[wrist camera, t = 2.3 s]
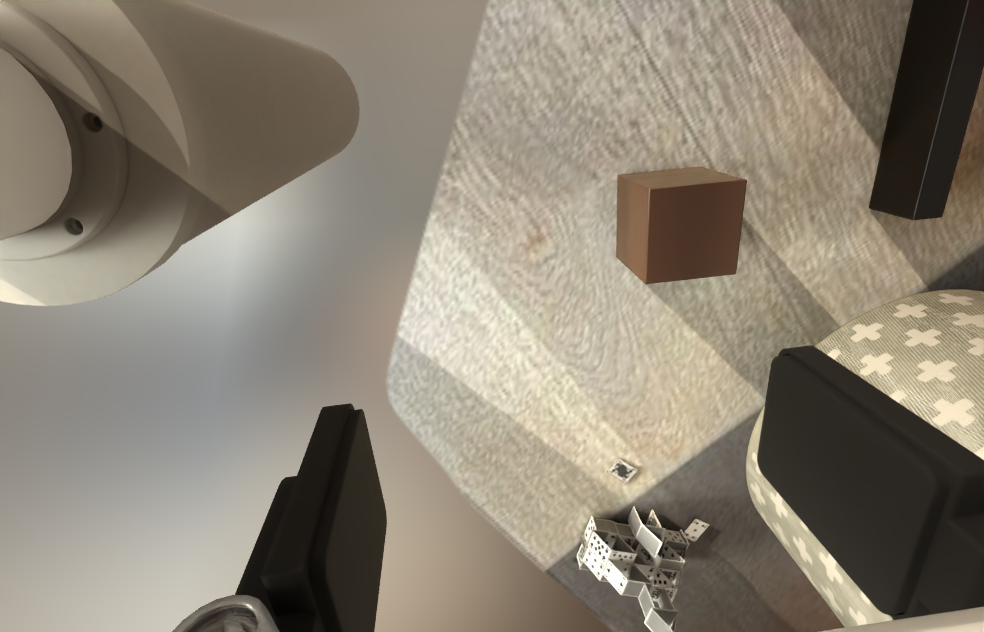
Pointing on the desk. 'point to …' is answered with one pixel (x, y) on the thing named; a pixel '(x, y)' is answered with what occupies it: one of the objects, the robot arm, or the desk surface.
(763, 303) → the desk surface
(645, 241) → the walnut block
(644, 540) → the house of cards
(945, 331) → the planter
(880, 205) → the rail
